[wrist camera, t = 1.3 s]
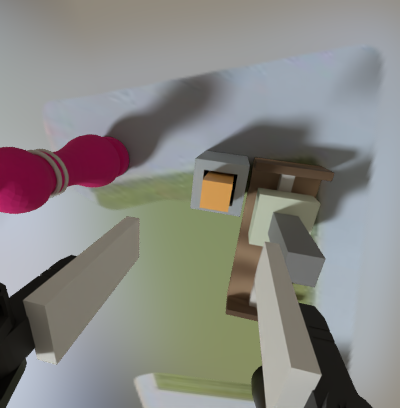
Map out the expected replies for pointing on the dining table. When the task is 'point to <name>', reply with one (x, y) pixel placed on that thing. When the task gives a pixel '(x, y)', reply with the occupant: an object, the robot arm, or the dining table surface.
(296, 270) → the carriage
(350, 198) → the dining table surface
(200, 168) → the orange button box
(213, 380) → the dining table surface
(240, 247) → the rail board
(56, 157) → the pepper mill
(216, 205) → the button
